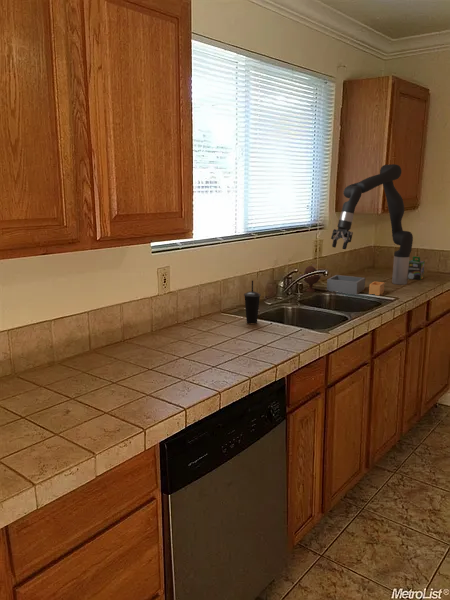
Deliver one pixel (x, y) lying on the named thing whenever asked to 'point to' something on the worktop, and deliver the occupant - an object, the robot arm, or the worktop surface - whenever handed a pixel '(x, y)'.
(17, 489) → the worktop surface
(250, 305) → the drinking cup
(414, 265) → the chalk box
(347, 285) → the charcoal crate
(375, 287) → the orange crate
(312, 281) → the ice cream bowl
